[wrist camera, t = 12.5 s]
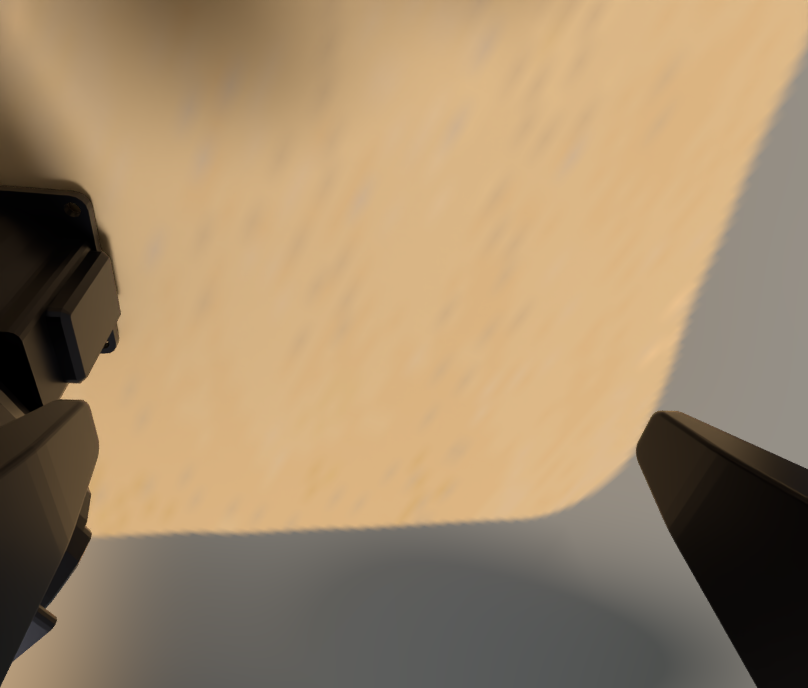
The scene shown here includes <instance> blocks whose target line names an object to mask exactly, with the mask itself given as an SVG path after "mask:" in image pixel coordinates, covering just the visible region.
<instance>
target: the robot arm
mask: <svg viewBox="0 0 808 688" xmlns="http://www.w3.org/2000/svg"><path fill="white" fill-rule="evenodd" d="M68 203H74V204H76V205H77V206H78V207H79V208H80V210H81V212H74V211H73V210H72V209H70V207H69V205H68ZM120 315H121V311H120V306H119V301H118V296H117V291H116V285H115V280H114V275H113V270H112V265H111V260H110V257H109V256H108V255H107V254H106V253H105V252H104V251H101V246H100V241H99V236H98V231H97V226H96V221H95V217H94V212H93V207H92V204H91V202H90V200H89V199H88V198H87V197H86V196H85V195H83V194H81V193H79V192H75V191H66V190H53V189H40V188H27V187H14V186H1V185H0V686H1V684H2V682H3V680H4V678H5V676H6V674H7V671H8V670H9V668H10V666H11V664H12V662H13V661H14V660H15V659H16V658H18V657H19V656H20V655H21V654H23V653H24V652H25V651H26V650H27V649H29V648H30V647H31V646H32V645H33V644H35V643H36V642H37V641H38V640H40V639H41V638H42V637H43V636H44V635H46V634H47V633H48V632H49V631H50V630H51V629H52V628H53V627H54V626H55V624H56V621H57V618H56V616H54V615H53V614H52V613H50V612H49V611H48V610H46V608H47V606H48V605H49V604H50V603H51V602H52V601H53V600H54V598H55V597H56V595H57V594H58V593H59V591H60V590H61V588H62V587H63V586H64V584H65V583H66V582H67V580H68V579H69V577H70V576H71V574H72V573H73V572H74V570H75V569H76V568H77V566H78V564H79V562H80V560H81V558H82V556H83V554H84V552H85V550H86V548H87V546H88V544H89V542H90V539H91V535H92V533H91V531H90V530H89V529H88V528H87V527H86V526H85V525H86V523H87V518H88V511H89V505H90V498H91V493H90V490H89V487H88V486H89V483H90V480H91V477H92V474H93V471H94V468H95V465H96V462H97V458H98V453H99V440H98V436H97V432H96V428H95V424H94V420H93V417H92V413H91V409H90V406H89V404H88V403H87V402H85V401H84V400H62V399H60V398H61V396H62V395H63V393H64V391H65V389H66V387H67V386H68V384H69V383H81V382H82V381H83V380H84V379H86V378H87V377H88V375H89V373H90V371H91V369H92V367H93V365H94V364H95V362H96V360H97V358H98V356H99V354H100V353H103V354H105V353H111V352H112V351H114V350H115V348H116V346H117V344H118V342H119V335H118V330H117V325H116V322H117V321H118V319H119V317H120ZM106 341H108V343H106ZM636 456H637V460H638V463H639V465H640V467H641V470H642V472H643V474H644V476H645V479H646V481H647V483H648V486H649V488H650V490H651V492H652V495H653V497H654V499H655V502H656V504H657V506H658V508H659V511H660V513H661V515H662V518H663V520H664V522H665V524H666V526H667V528H668V530H669V532H670V534H671V536H672V538H673V540H674V542H675V543H676V545H677V547H678V549H679V551H680V552H681V554H682V556H683V557H684V559H685V561H686V563H687V564H688V566H689V568H690V570H691V572H692V573H693V575H694V577H695V579H696V581H697V582H698V584H699V586H700V588H701V589H702V591H703V593H704V595H705V596H706V598H707V600H708V601H709V603H710V605H711V607H712V609H713V611H714V612H715V614H716V616H717V618H718V619H719V621H720V623H721V625H722V626H723V628H724V630H725V632H726V633H727V635H728V637H729V639H730V640H731V642H732V644H733V646H734V648H735V649H736V651H737V653H738V655H739V656H740V658H741V660H742V662H743V663H744V665H745V667H746V669H747V671H748V672H749V674H750V676H751V677H752V679H753V681H754V683H755V684H756V686H757V688H808V469H806V468H804V467H802V466H800V465H798V464H795V463H793V462H791V461H788V460H786V459H784V458H782V457H780V456H778V455H775V454H773V453H771V452H769V451H766V450H764V449H762V448H760V447H758V446H755V445H753V444H751V443H749V442H746V441H744V440H742V439H739V438H738V437H735V436H733V435H731V434H729V433H727V432H724V431H722V430H720V429H718V428H715V427H713V426H711V425H709V424H707V423H704V422H702V421H700V420H698V419H696V418H693V417H691V416H689V415H686V414H684V413H682V412H679V411H657V412H655V413H654V414H653V415H652V417H651V418H650V420H649V422H648V424H647V426H646V428H645V430H644V432H643V433H642V435H641V437H640V439H639V441H638V443H637V447H636Z"/></svg>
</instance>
